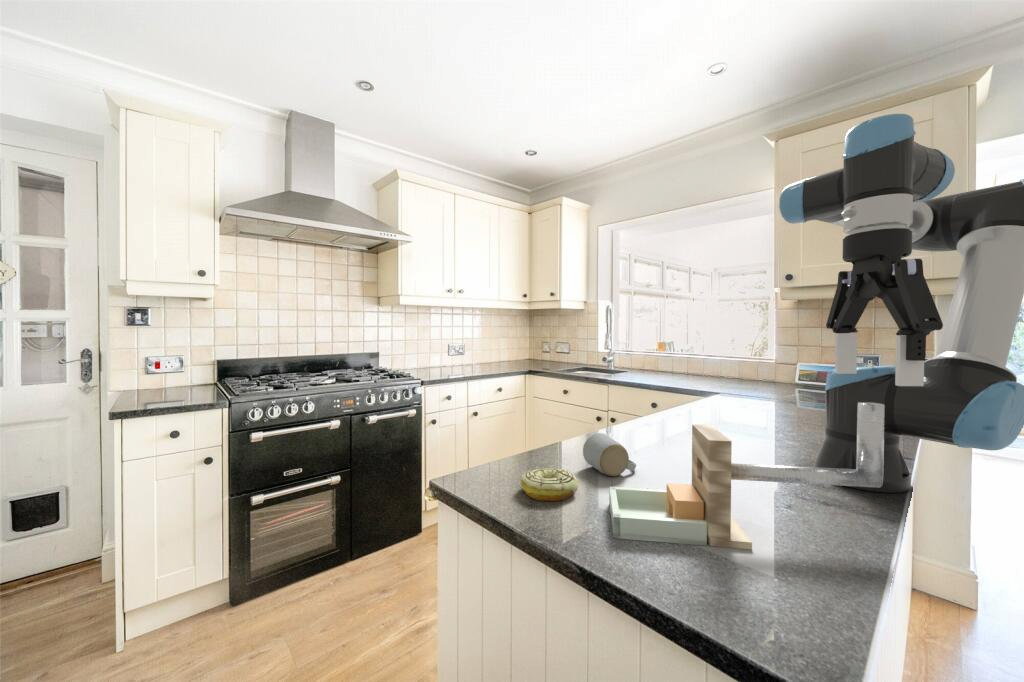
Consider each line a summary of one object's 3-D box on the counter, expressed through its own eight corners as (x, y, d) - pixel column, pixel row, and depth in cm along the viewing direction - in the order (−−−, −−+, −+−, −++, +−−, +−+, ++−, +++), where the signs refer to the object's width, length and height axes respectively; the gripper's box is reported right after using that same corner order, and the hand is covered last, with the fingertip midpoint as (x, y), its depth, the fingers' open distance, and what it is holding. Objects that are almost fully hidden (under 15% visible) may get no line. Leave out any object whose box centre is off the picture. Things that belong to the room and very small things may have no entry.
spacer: (691, 511, 69) (692, 484, 69) (703, 531, 62) (703, 502, 62) (666, 509, 70) (666, 483, 70) (675, 529, 63) (675, 500, 63)
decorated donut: (588, 498, 77) (588, 478, 77) (536, 508, 73) (536, 487, 73) (560, 479, 87) (560, 461, 87) (512, 487, 82) (512, 468, 82)
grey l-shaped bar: (874, 483, 62) (875, 402, 62) (888, 491, 59) (890, 406, 59) (712, 474, 66) (713, 398, 66) (718, 481, 63) (719, 402, 63)
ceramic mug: (600, 480, 86) (601, 443, 86) (581, 467, 93) (582, 433, 93) (644, 475, 89) (645, 439, 89) (622, 463, 97) (623, 430, 97)
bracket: (724, 512, 70) (725, 424, 70) (751, 549, 59) (753, 443, 58) (690, 509, 71) (690, 423, 71) (710, 546, 60) (711, 442, 59)
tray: (687, 509, 72) (687, 491, 71) (706, 545, 60) (706, 523, 60) (609, 504, 74) (609, 486, 74) (613, 538, 62) (613, 516, 62)
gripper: (803, 248, 73) (802, 369, 74) (912, 210, 48) (908, 392, 49) (851, 246, 72) (850, 369, 72) (988, 206, 47) (984, 393, 48)
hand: (873, 379), depth 61 cm, fingers open, 13 cm apart
